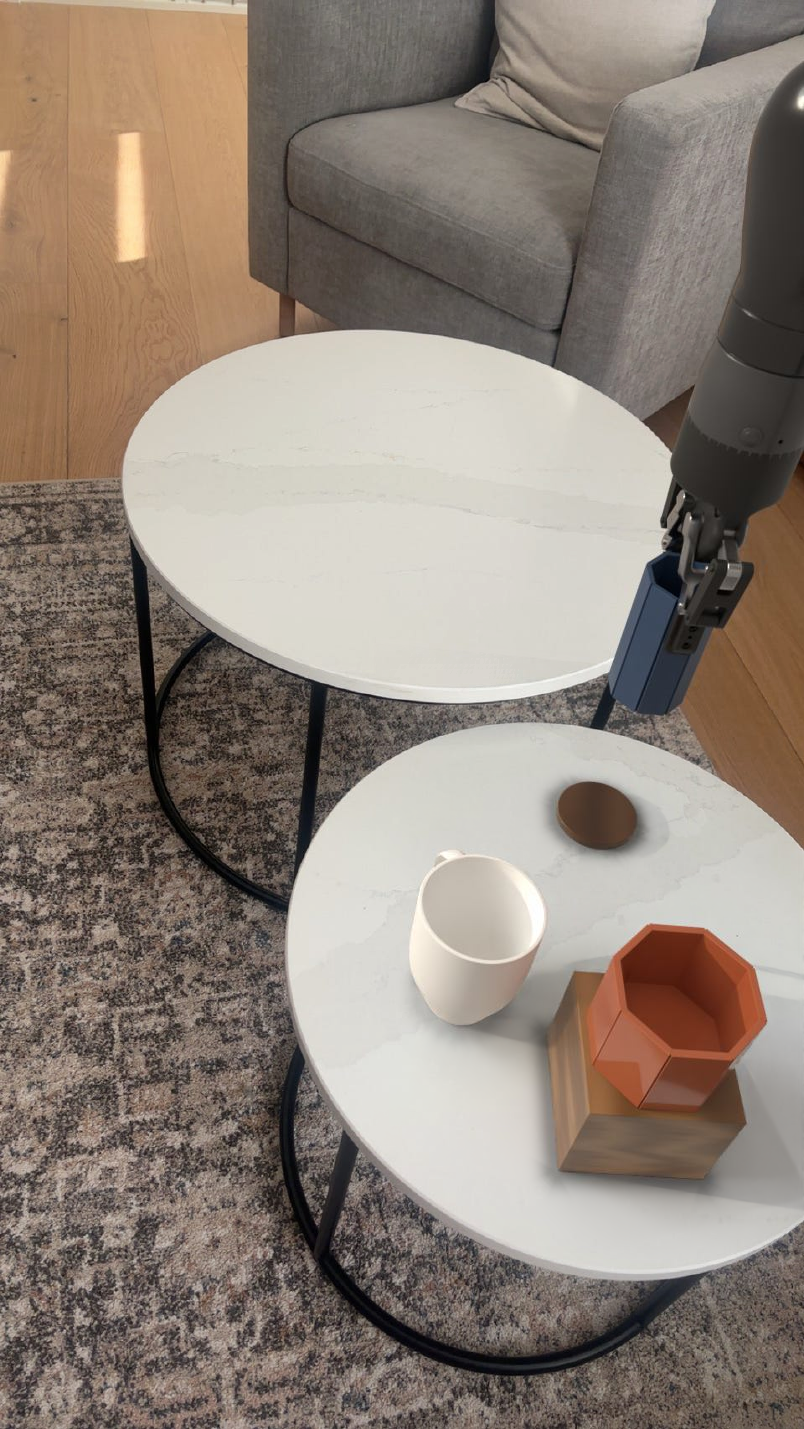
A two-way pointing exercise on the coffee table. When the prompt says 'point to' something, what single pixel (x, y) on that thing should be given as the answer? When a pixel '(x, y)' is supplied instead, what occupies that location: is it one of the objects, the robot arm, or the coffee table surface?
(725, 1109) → the riser
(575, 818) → the coaster
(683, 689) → the slate cup
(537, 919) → the mug
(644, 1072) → the terracotta cup
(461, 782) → the coffee table surface
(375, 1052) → the coffee table surface
